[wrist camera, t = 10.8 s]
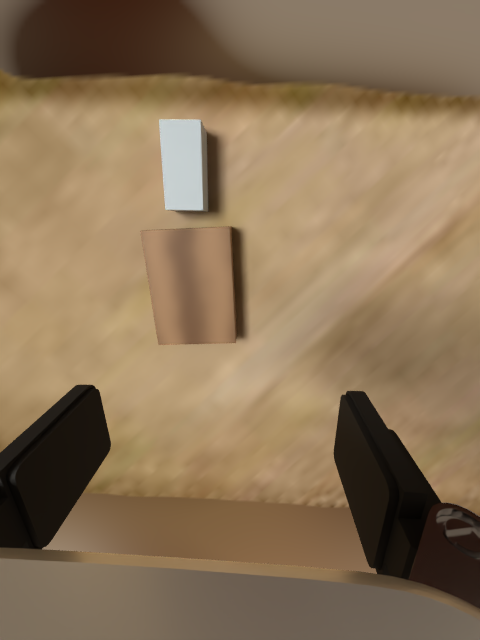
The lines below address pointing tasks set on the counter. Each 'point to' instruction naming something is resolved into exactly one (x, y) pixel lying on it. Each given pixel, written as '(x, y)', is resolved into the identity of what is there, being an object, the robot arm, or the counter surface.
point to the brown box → (191, 284)
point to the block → (184, 165)
